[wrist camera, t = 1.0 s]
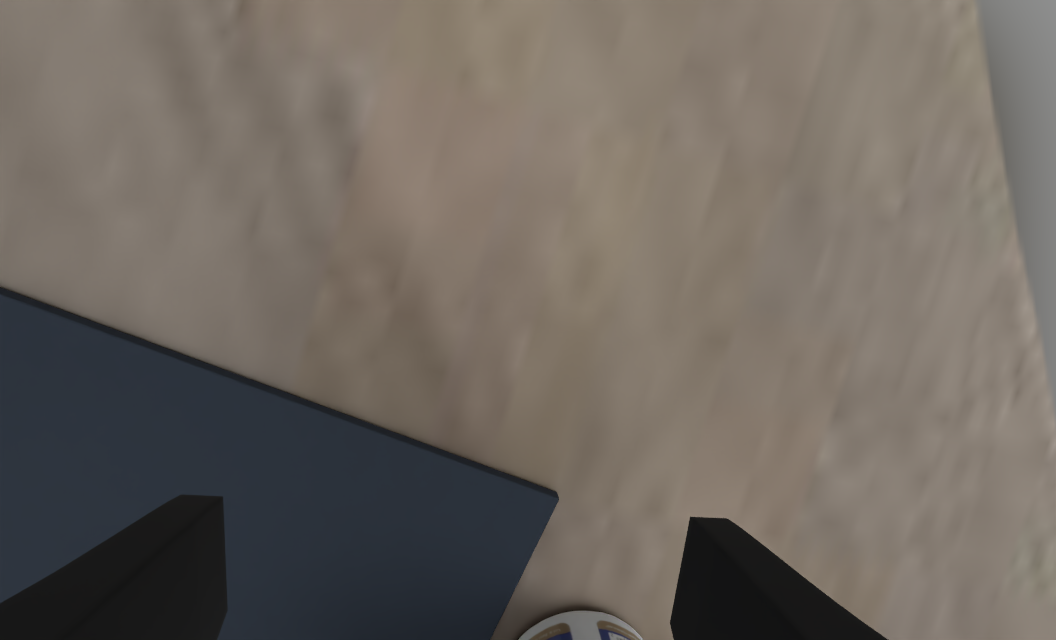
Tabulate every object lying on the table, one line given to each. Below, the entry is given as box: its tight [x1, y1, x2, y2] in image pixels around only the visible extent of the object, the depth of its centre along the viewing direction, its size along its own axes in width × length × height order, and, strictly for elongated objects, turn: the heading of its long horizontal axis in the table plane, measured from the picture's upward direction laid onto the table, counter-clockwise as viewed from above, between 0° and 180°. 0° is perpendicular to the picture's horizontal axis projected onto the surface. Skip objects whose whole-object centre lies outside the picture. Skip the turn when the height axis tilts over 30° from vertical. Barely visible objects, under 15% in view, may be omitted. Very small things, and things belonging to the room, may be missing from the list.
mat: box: [0, 287, 559, 640], centre depth 21 cm, size 12×20×1 cm, turn 66°
